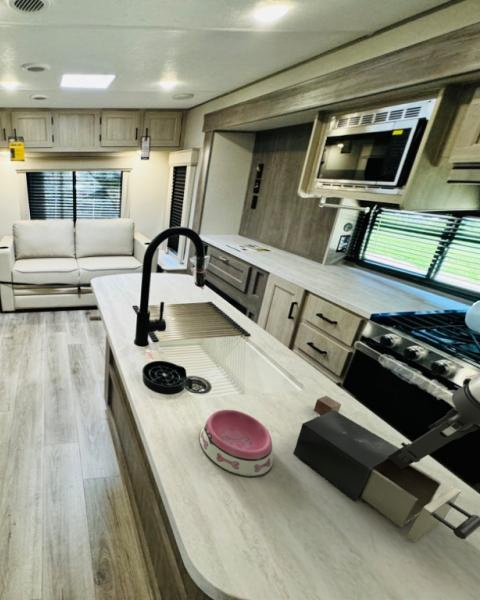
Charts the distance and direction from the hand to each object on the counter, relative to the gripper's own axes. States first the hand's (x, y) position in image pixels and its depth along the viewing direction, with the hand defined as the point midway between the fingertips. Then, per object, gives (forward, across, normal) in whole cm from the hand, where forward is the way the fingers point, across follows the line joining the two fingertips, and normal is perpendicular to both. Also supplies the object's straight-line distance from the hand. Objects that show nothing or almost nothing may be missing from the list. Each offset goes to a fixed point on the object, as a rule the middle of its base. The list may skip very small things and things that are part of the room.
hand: (415, 446), depth 68 cm
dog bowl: (+16, -26, +20) cm, 37 cm away
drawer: (+11, -7, -7) cm, 15 cm away
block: (+24, +10, +17) cm, 31 cm away
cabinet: (+16, -8, +4) cm, 18 cm away
